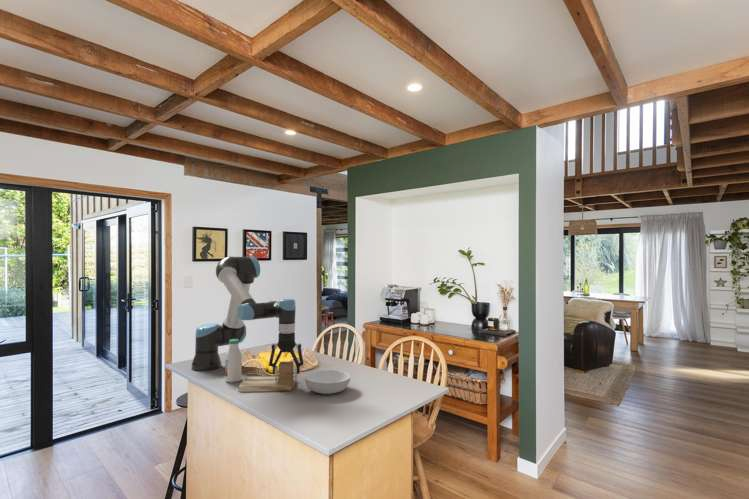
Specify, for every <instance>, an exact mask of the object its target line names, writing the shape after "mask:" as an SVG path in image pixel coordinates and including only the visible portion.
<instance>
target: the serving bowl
mask: <svg viewBox="0 0 749 499" xmlns="http://www.w3.org/2000/svg"><path fill="white" fill-rule="evenodd" d="M350 382H351V374H349V372H345V371H342V370H338V369H337V370H335V369H321V370H314V371H310V372H308V373H306V374H305V375H304V383H305V384H306V387H307V388H308V389H309V390H311V391H312V392H314V393H317V394H322V395H332V394H335V393H336V394H337V393H339V392H342V391H343V390H346V388H347V387H348V386H349V383H350Z"/></svg>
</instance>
